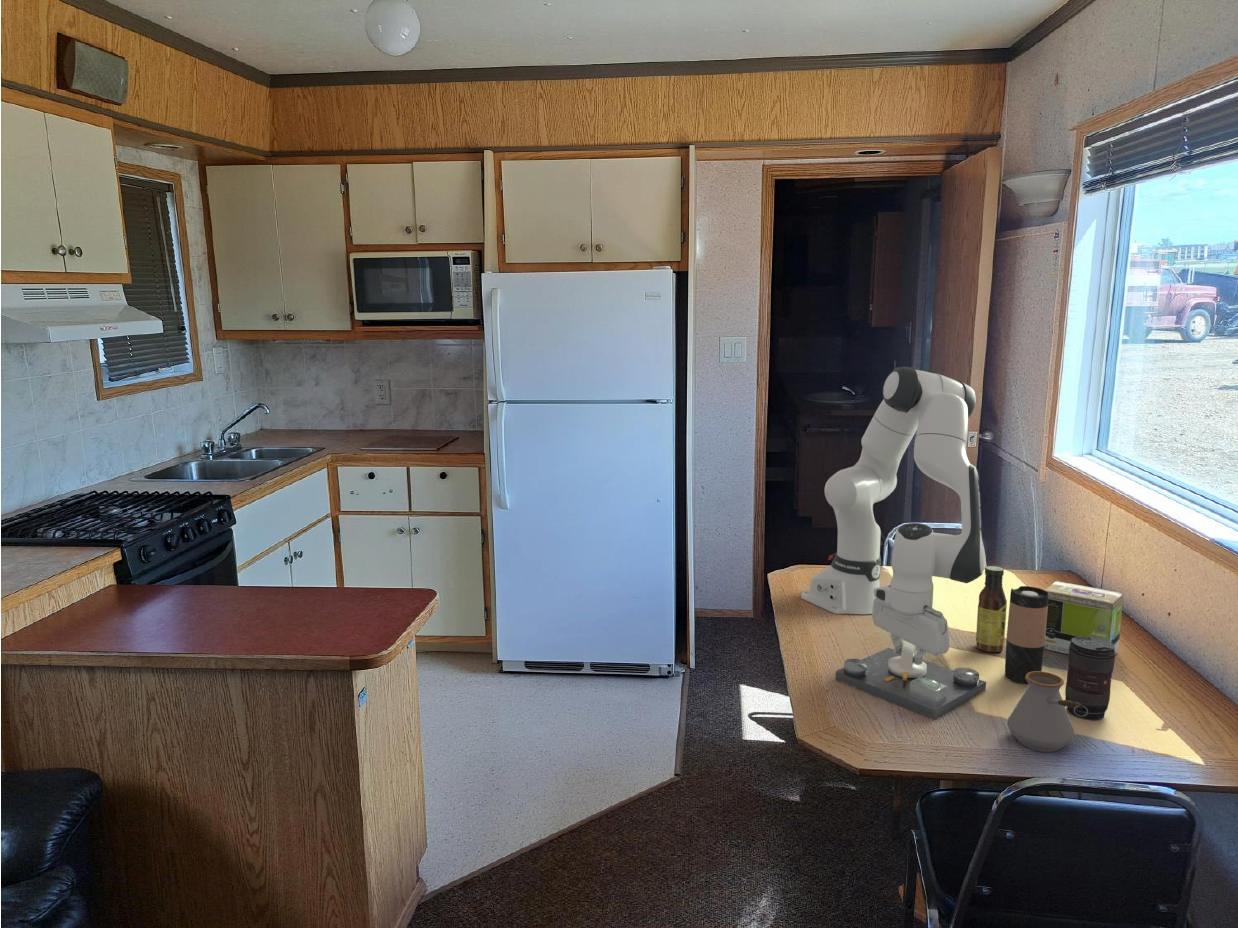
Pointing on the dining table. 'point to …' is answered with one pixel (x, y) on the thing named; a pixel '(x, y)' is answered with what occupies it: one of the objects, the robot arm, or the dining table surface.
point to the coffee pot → (1043, 714)
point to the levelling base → (903, 686)
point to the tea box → (1081, 615)
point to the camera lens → (1089, 676)
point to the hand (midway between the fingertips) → (907, 658)
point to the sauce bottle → (991, 612)
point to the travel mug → (1025, 632)
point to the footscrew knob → (906, 663)
